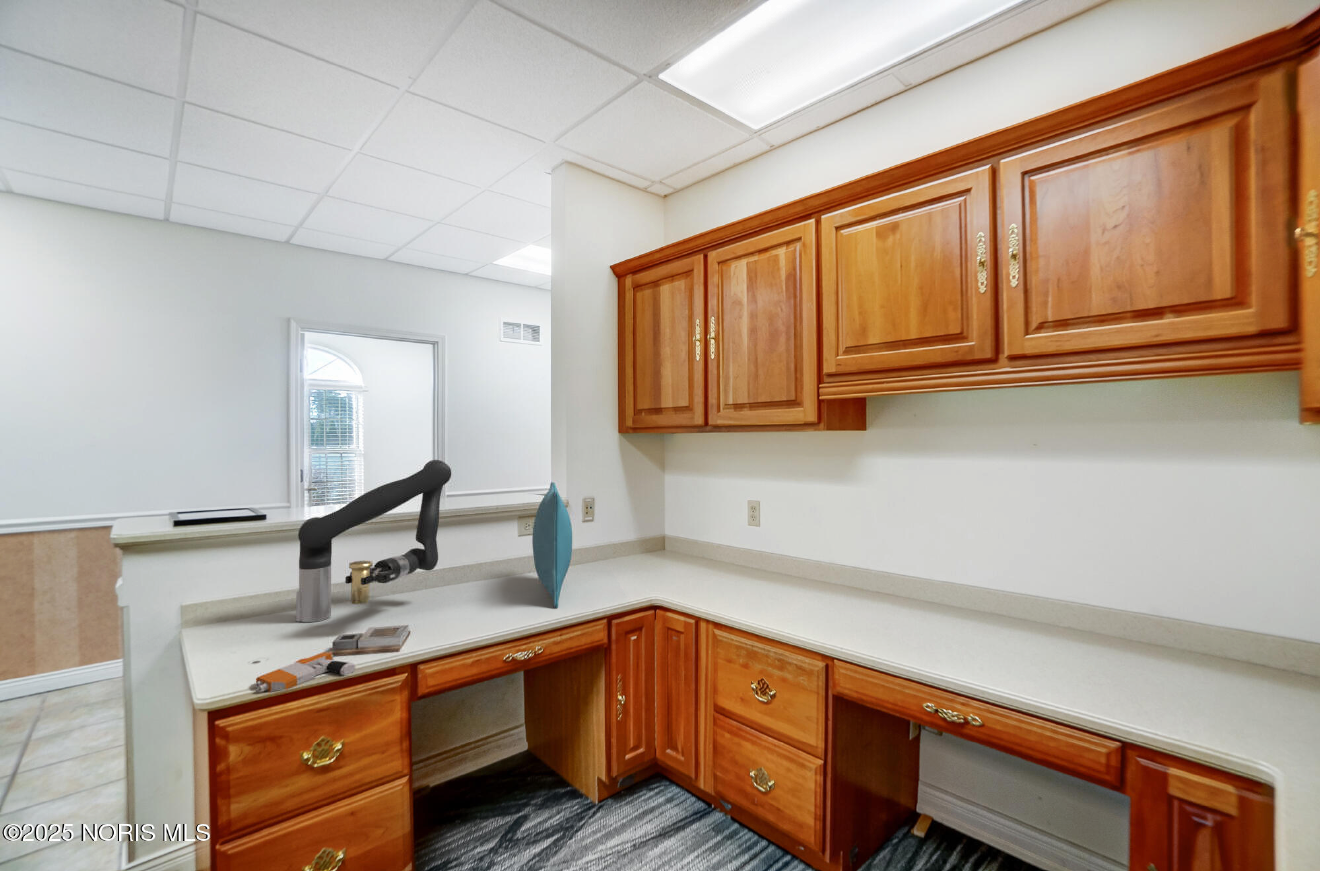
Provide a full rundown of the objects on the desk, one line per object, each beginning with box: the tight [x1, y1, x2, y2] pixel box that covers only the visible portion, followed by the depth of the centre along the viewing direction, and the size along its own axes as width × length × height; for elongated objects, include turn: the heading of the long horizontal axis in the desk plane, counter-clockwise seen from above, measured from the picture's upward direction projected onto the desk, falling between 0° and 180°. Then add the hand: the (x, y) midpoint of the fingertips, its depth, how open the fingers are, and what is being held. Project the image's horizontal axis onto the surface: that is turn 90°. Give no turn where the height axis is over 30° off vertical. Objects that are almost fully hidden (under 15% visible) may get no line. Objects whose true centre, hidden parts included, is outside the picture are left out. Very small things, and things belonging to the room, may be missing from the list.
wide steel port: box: [358, 624, 410, 649], centre depth 168 cm, size 11×11×2 cm
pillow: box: [531, 481, 573, 609], centre depth 224 cm, size 43×15×42 cm, turn 12°
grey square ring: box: [331, 632, 364, 651], centre depth 164 cm, size 6×6×2 cm
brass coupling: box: [348, 560, 373, 605], centre depth 179 cm, size 6×6×12 cm
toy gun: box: [255, 651, 356, 693], centre depth 144 cm, size 3×19×15 cm
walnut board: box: [328, 630, 411, 657], centre depth 168 cm, size 18×15×1 cm
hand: (354, 580), depth 176 cm, fingers closed on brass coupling, 5 cm apart
